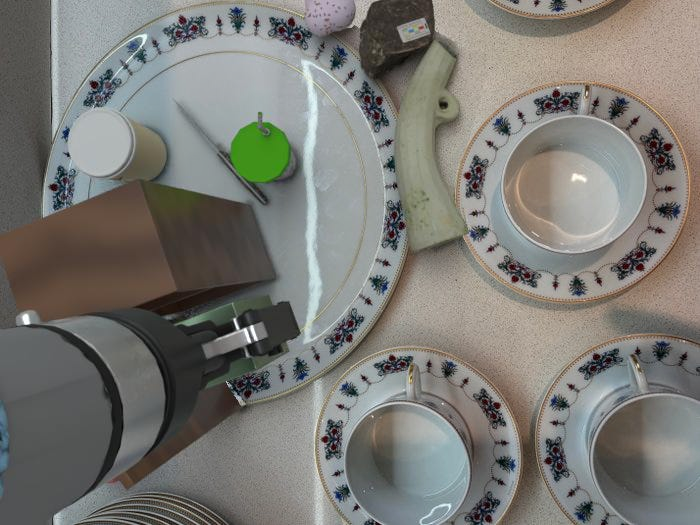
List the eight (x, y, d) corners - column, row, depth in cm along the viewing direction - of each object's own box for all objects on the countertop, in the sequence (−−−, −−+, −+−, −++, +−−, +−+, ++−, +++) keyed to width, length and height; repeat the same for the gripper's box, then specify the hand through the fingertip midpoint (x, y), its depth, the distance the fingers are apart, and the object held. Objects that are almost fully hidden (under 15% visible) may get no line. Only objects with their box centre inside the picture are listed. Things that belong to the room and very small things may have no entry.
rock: (427, -15, 87) (451, 42, 86) (408, 13, 93) (430, 65, 93) (357, 5, 84) (381, 63, 83) (343, 32, 90) (366, 86, 90)
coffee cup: (100, 160, 99) (51, 148, 87) (138, 110, 97) (94, 91, 86) (146, 200, 97) (103, 193, 86) (185, 150, 96) (146, 136, 85)
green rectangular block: (290, 351, 55) (257, 370, 46) (235, 371, 55) (192, 393, 46) (269, 294, 55) (232, 301, 46) (214, 314, 56) (168, 326, 47)
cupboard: (276, 277, 94) (177, 290, 61) (177, 313, 97) (30, 345, 64) (250, 204, 95) (138, 178, 62) (152, 242, 97) (-7, 237, 64)
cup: (276, 202, 94) (242, 192, 79) (243, 159, 95) (203, 142, 80) (319, 166, 93) (292, 150, 78) (285, 123, 94) (252, 99, 79)
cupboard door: (211, 432, 96) (82, 526, 63) (147, 345, 98) (-13, 392, 65) (246, 404, 95) (134, 484, 62) (181, 316, 97) (37, 349, 64)
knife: (173, 103, 97) (164, 98, 94) (180, 96, 96) (171, 91, 93) (264, 207, 95) (258, 205, 92) (271, 200, 94) (265, 198, 91)
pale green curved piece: (404, 254, 91) (477, 246, 90) (405, 254, 83) (486, 245, 82) (381, 49, 91) (454, 40, 90) (380, 29, 83) (461, 18, 82)
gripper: (241, 250, 30) (335, 251, 53) (-90, 379, 33) (136, 328, 56) (298, 408, 30) (368, 340, 53) (-40, 525, 32) (166, 413, 55)
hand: (248, 334), depth 54 cm, fingers closed on green rectangular block, 5 cm apart
